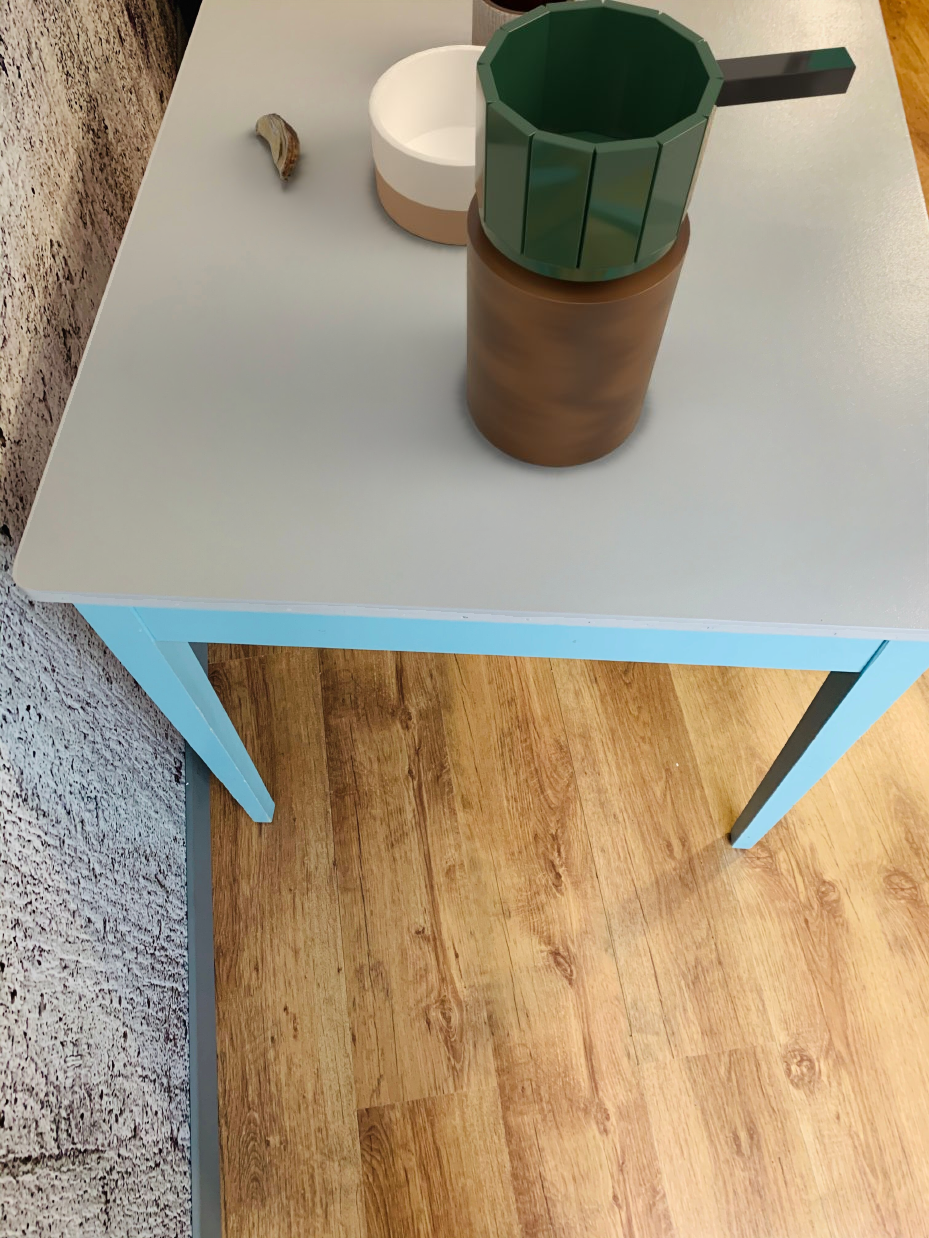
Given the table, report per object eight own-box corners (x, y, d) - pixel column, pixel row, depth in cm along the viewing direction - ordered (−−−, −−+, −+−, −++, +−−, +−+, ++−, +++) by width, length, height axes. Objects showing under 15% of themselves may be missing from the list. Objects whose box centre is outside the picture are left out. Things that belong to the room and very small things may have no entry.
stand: (609, 315, 77) (646, 131, 61) (666, 446, 71) (724, 279, 55) (448, 346, 75) (443, 167, 60) (492, 483, 69) (500, 323, 53)
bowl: (532, 259, 80) (539, 179, 72) (356, 230, 82) (345, 149, 74) (564, 141, 87) (573, 57, 80) (401, 117, 89) (395, 32, 81)
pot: (497, 294, 53) (502, 163, 45) (462, 150, 59) (461, 11, 51) (836, 253, 54) (900, 119, 46) (769, 116, 60) (816, -24, 52)
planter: (460, 106, 90) (460, 7, 81) (483, 44, 94) (485, -55, 85) (562, 122, 88) (572, 24, 80) (580, 59, 93) (592, -41, 84)
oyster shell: (277, 187, 91) (308, 188, 83) (243, 173, 88) (271, 173, 81) (290, 126, 89) (323, 122, 81) (256, 111, 87) (287, 105, 79)
